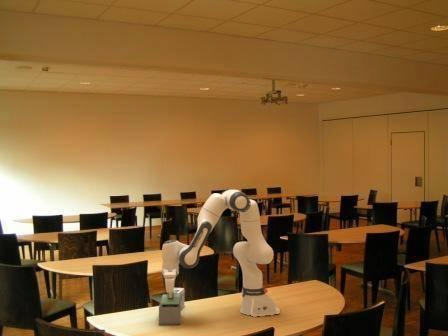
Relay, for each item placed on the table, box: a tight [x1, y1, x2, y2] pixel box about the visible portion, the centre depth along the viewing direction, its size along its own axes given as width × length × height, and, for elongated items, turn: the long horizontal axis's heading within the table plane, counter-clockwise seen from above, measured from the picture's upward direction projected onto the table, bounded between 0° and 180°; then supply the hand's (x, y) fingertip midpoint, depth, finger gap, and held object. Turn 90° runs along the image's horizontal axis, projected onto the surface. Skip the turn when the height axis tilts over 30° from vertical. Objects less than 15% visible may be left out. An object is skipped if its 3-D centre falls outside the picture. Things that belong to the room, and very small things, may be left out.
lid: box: [161, 291, 180, 305], centre depth 243 cm, size 9×13×5 cm
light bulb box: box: [174, 287, 185, 310], centre depth 262 cm, size 11×7×11 cm, turn 168°
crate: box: [158, 298, 182, 326], centre depth 243 cm, size 11×15×9 cm
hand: (170, 296), depth 243 cm, fingers closed on lid, 3 cm apart
